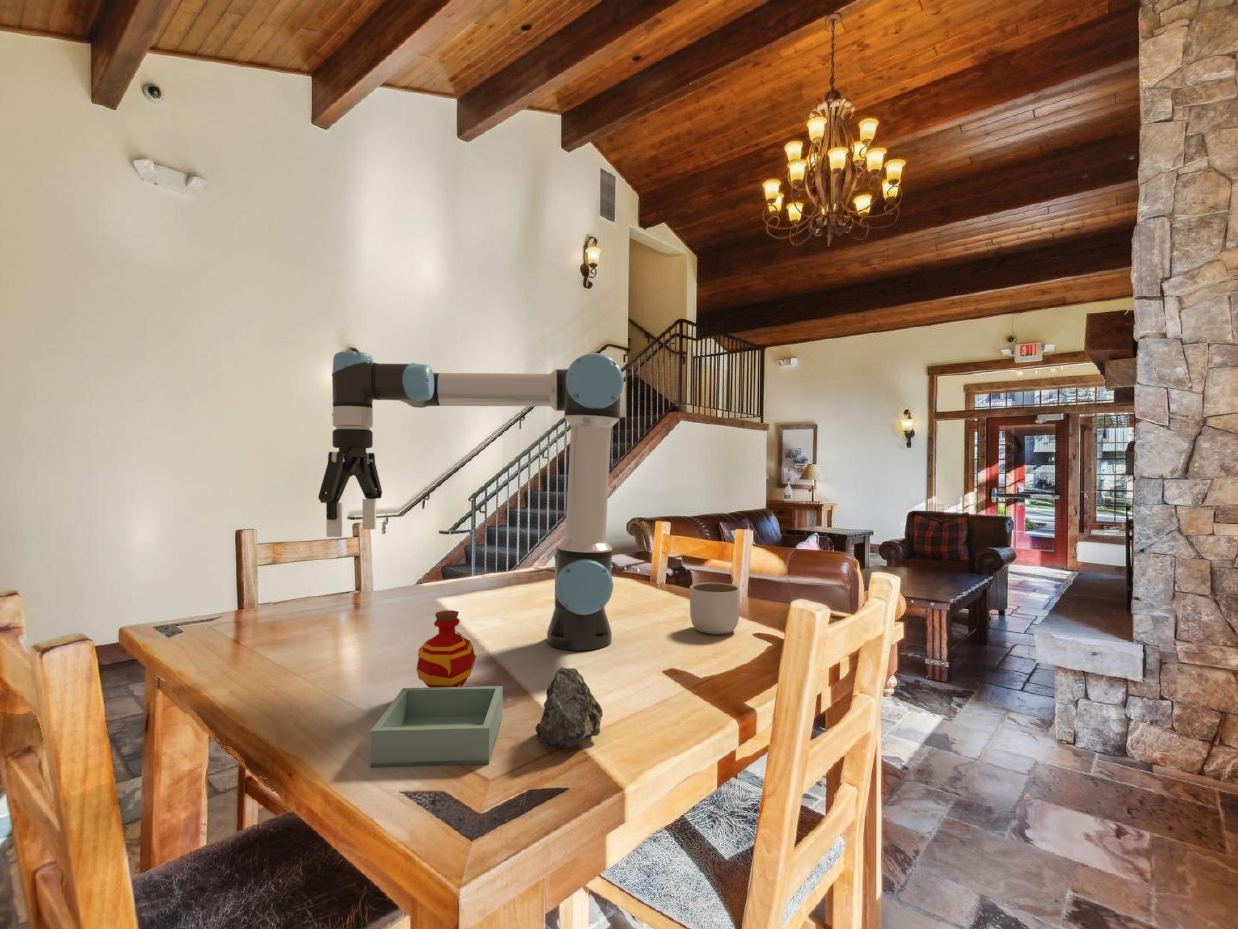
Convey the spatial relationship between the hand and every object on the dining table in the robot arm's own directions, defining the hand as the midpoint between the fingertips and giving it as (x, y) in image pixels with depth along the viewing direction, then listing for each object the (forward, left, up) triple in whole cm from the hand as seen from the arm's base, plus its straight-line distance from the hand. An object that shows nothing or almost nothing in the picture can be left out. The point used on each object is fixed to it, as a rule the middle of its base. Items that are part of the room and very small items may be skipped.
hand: (352, 533), depth 125 cm
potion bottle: (-22, +18, -28) cm, 40 cm away
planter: (-80, -23, -28) cm, 88 cm away
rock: (-44, +37, -28) cm, 64 cm away
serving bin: (-25, +35, -27) cm, 51 cm away
